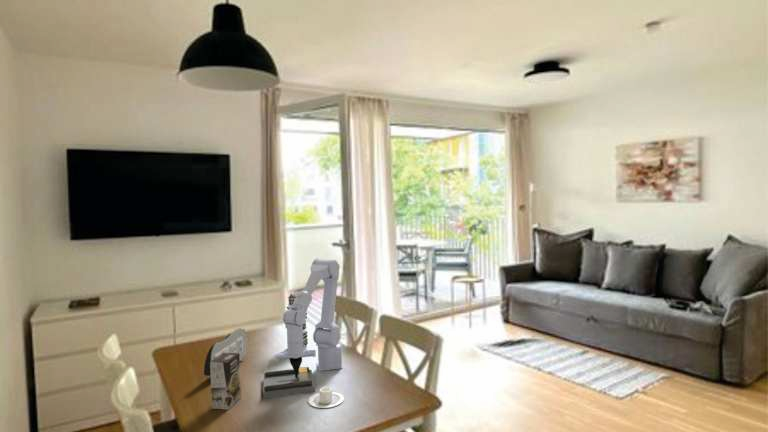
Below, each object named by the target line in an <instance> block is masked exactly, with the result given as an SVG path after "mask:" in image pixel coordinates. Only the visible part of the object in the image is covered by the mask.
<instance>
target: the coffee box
mask: <svg viewBox="0 0 768 432" xmlns="http://www.w3.org/2000/svg"><path fill="white" fill-rule="evenodd" d="M210 372H211V376H210V388H211V389H210V390H211V391H210V393H211V396H210V398H211V409H214V410H224V411H225V410H227V411H228V410H230V409H231V408H232V407H233V406H234V405H235V404H236V403H237V402H238V401H239V400H241V399H242V382H241V381H242V379H241V361H240V356H239V353H223V354H221V355H220V356H218V357H217V358H215V359H214V360H212V361H211V362H210Z"/></svg>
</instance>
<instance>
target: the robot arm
mask: <svg viewBox="0 0 768 432" xmlns="http://www.w3.org/2000/svg"><path fill="white" fill-rule="evenodd" d="M340 268H341V267H340V264H339V263H338V260H336V259H325V258H324V259H322V258H321V259H319V258H315V259H314V260H313V261H312V264H311V265H310V274H309V277H308V279H307V281H306V283H305V286H304V288H303V290H301V291H299V292H297V293H298V295H297V297H296V299H295V300H294V302H293V304H292V306H291V308H290V309H289V310H288V309H287V310H284V311H285V312H284V314H283V316H282V321H283V323H284V325H285V326H284V327H285V329H286V337H287V338H286V339H287V342H286V343H287V344H286V345H287V351H286V352H285V351H284V352H280V353H275V361H276V362H278V361H280V360H282V361H283V360H289V364H290V365H291V367H292V369H294V372H295V378H298V371H299V367H301V365H302V362H303V358H308V357H309V358H310V357H312V358H314V357H316V354H317V356H318V357H317V358H318V359H317V360H318V361H317V363H316V367H317V369H318V371H319V372H323V371H330V370H340V369H343V365H342V363H343V361H342V360H343V359H342V357H343V356H342V347H341V344H340V343H339V342H340V339H341V335H340V334H341V333H340V326H339V325H338V324H337V323H336V322H335V311H336V300H337V291H338V281H339V278H340V277H339V276H340ZM321 280H322V281H323V294H322V295H323V296H322V305H321V317H320V321H319V322H317V323H316V324H315V328H314V331H313V334H312V338H313V339H312V340H313V342H314V343H315V345H316V346H317V353H316V349H310V350H309V349H308V350H307V349H303V326H302V324H303V323H304V322H305V320H307V318H306V316H307V315H306V313H307V314H308V312H307V311H308V308H309V306H310V304H311V303H312V300H313V295H312V294H313V293H314V291H315V289H316V288H317V286H318V285H319V283H320V281H321ZM306 310H307V311H306Z"/></svg>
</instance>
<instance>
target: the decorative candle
mask: <svg viewBox="0 0 768 432" xmlns="http://www.w3.org/2000/svg"><path fill="white" fill-rule="evenodd" d="M298 293H299V292H293V293H291V294H289V296H288V297H287V299H288V304H287V307H286V309H287V310H289V309H290V308H291V306H292V304H293V302H294V300H295V299H296V297H297V295H298ZM306 311H308V309H307V310H306ZM307 315H308V312H307V313H306V319H305V322H304V323H303V324H302V326H303V350H307V349H308V347H309V345H308V344H309V343H308V341H309V340H308V331H307V322H308V320H307V319H308V316H307Z"/></svg>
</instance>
